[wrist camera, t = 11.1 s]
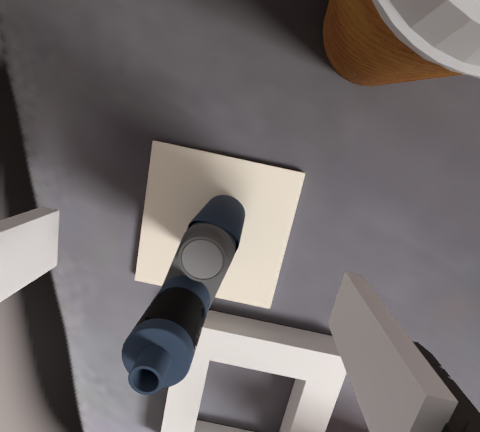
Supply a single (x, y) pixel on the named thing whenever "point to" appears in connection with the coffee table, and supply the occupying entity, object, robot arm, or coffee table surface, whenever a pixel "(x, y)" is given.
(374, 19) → the disposable coffee cup
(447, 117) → the coffee table surface
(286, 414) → the socket collar
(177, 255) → the vaping device
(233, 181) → the mat
